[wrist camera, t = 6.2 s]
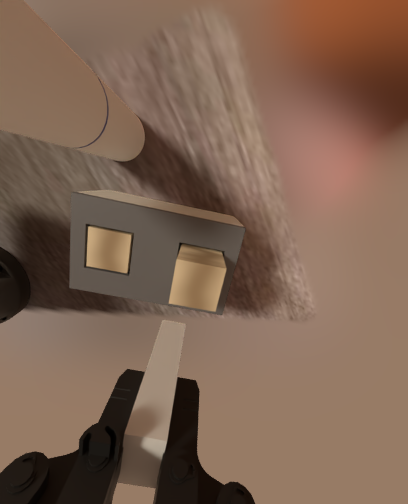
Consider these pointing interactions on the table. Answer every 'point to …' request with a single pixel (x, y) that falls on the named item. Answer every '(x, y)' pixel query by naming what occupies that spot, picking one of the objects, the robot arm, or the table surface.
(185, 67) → the table surface
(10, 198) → the table surface
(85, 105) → the cylindrical container
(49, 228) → the table surface
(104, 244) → the peg
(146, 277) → the plinth
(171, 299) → the peg
